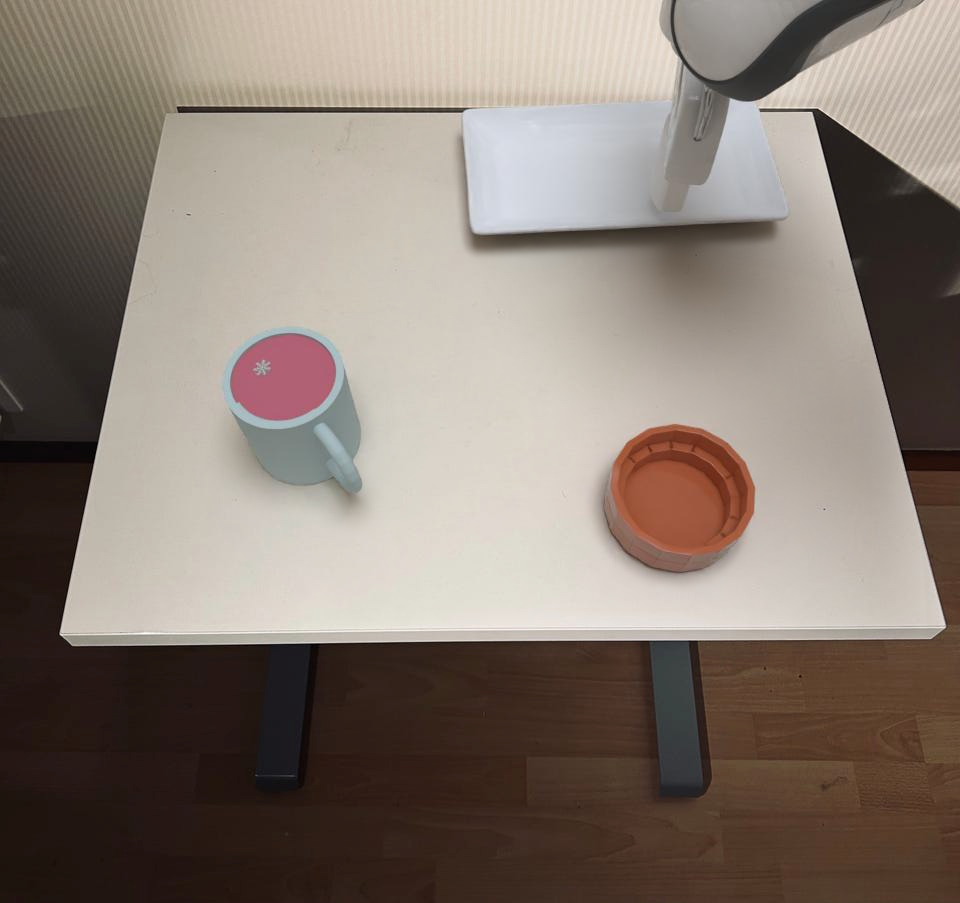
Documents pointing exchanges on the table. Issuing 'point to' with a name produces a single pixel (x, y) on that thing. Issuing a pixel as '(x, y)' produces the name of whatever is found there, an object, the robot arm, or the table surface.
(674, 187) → the eye dropper bottle
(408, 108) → the table surface
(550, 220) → the tray
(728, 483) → the bowl
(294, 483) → the mug
